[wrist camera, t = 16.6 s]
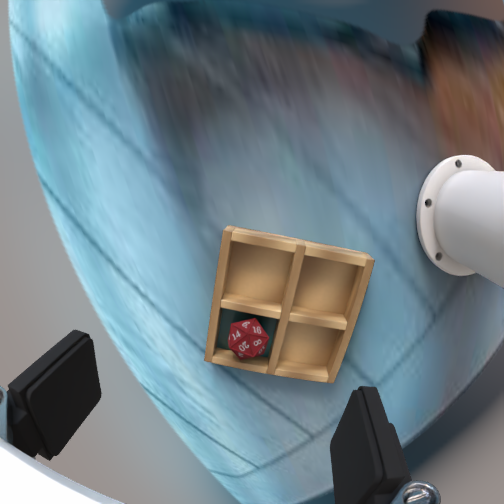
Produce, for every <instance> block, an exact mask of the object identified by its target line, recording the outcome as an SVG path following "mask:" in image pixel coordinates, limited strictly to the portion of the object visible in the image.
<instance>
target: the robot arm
mask: <svg viewBox="0 0 504 504" xmlns="http://www.w3.org/2000/svg"><path fill="white" fill-rule="evenodd" d="M455 163H456V165H455ZM425 201H426V204H425ZM416 220H417V230H418V235H419V240H420V242H421V245H422V247H423V250H424V251H425V253H426V255H427V256H428V258H429V259H430V260H431V261H432V262H433V263H434V264H435V265H436V266H437V267H439V268H440V269H441V270H443V271H445V272H447V273H449V274H452V275H456V276H467V275H471V274H474V273H476V272H477V273H478V274H480V275H482V276H483V277H485V278H487V279H488V280H490V281H492V282H493V283H495V284H497V285H498V286H500V287H502V288H503V289H504V172H499V171H495V170H494V169H493V168H492V167H491V166H490V165H489V164H488V163H487V162H485V161H483V160H482V159H480V158H477V157H474V156H471V155H458V156H453V157H450V158H447V159H445V160H444V161H442V162H441V163H439V164H438V165H437V166H436V167H435V168H434V169H433V170H432V171H431V172H430V174H429V175H428V177H427V178H426V180H425V182H424V184H423V186H422V189H421V191H420V195H419V199H418V203H417V213H416ZM436 254H437V255H436ZM8 387H9V390H8V391H7V392H6V391H5V389H4V388H2V387H1V386H0V504H125V503H122V502H120V501H117V500H115V499H112V498H110V497H107V496H105V495H103V494H101V493H98V492H96V491H94V490H91V489H89V488H87V487H85V486H83V485H81V484H79V483H77V482H75V481H73V480H71V479H69V478H67V477H65V476H63V475H61V474H59V473H57V472H56V471H54V470H52V469H50V468H48V467H47V466H45V465H43V464H42V463H39V462H38V461H36V460H35V456H36V455H37V453H38V454H39V455H41V456H42V457H44V458H46V459H47V460H49V461H50V460H51V459H52V457H53V456H57V455H58V454H59V453H60V452H61V451H62V449H63V448H64V447H65V445H66V444H67V443H68V441H69V440H70V439H71V437H72V436H73V435H74V433H75V432H76V430H77V429H78V428H79V427H80V425H81V424H82V422H83V421H84V420H85V419H86V418H87V416H88V415H89V414H90V412H91V411H92V410H93V408H94V407H95V406H96V404H97V403H98V402H99V400H100V398H101V388H100V383H99V377H98V371H97V365H96V358H95V352H94V345H93V340H92V339H90V336H89V334H87V333H84V332H81V331H78V330H73V331H72V332H70V333H69V334H68V335H67V336H66V337H64V338H63V339H62V340H61V341H60V342H58V343H57V344H56V345H55V346H53V347H52V348H51V349H50V350H49V351H47V352H46V353H45V354H44V355H43V356H41V357H40V358H39V359H38V360H37V361H35V362H34V363H33V364H32V365H31V366H30V367H28V368H27V369H26V370H25V371H24V372H23V373H21V374H20V375H19V376H18V377H17V378H16V379H14V380H13V381H12V382H11V383H10V384H9V385H8ZM330 453H331V463H332V473H333V484H334V496H335V504H440V502H441V497H440V494H439V491H438V490H437V489H436V487H435V486H433V485H432V484H430V483H429V482H425V481H418V480H416V481H412V480H411V476H410V473H409V470H408V467H407V463H406V460H405V457H404V454H403V451H402V448H401V445H400V442H399V439H398V436H397V433H396V430H395V427H394V425H393V424H392V423H389V422H388V419H387V416H386V413H385V410H384V407H383V404H382V401H381V399H380V396H379V393H378V390H377V388H376V387H366V386H360V387H359V388H358V390H353V392H352V394H351V396H350V399H349V401H348V404H347V406H346V408H345V411H344V413H343V415H342V418H341V420H340V422H339V424H338V427H337V429H336V431H335V433H334V435H333V438H332V440H331V444H330Z"/></svg>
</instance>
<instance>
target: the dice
mask: <svg viewBox="0 0 504 504" xmlns="http://www.w3.org/2000/svg"><path fill="white" fill-rule="evenodd" d="M268 340H269V337H268V335H267V334H266V332H265V330H264V329H263V328H262V326H261V325H260V324H259V322H258V321H257V319H256V318H252V319H248V320H244V321H240V322H236V323H231V327H230V331H229V336H228V344H229V348H230V349H231V350H232V351H233V352H234V354H235V355H236V356H237V357H238V358H239V359H240V360H242V359H247V358H251V357H256V356H259V355H262V354H264V352H265V349H266V346H267V343H268Z"/></svg>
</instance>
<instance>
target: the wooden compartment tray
mask: <svg viewBox="0 0 504 504" xmlns="http://www.w3.org/2000/svg"><path fill="white" fill-rule="evenodd" d="M374 262H375V260H374V259H373V258H372V257H371V256H370V255H369V254H368V253H364V252H360V251H355V250H350V249H345V248H340V247H336V246H331V245H326V244H321V243H316V242H311V241H306V240H301V239H296V238H291V237H286V236H281V235H276V234H271V233H266V232H261V231H256V230H251V229H245V228H240V227H235V226H230V225H228V226H227V227H226V228H225V229H224V230H223V235H222V241H221V248H220V254H219V260H218V267H217V273H216V280H215V287H214V294H213V300H212V307H211V314H210V321H209V329H208V336H207V343H206V351H205V359H204V361H207V362H212V363H215V364H220V365H225V366H229V367H234V368H239V369H244V370H249V371H254V372H260V373H265V374H266V373H267V374H272V375H277V376H283V377H290V378H296V379H303V380H310V381H318V382H327V383H334V381H335V378H336V376H337V373H338V371H339V368H340V366H341V363H342V360H343V358H344V355H345V352H346V350H347V347H348V344H349V341H350V338H351V336H352V333H353V330H354V327H355V324H356V321H357V318H358V315H359V312H360V309H361V306H362V302H363V299H364V296H365V293H366V289H367V286H368V283H369V279H370V276H371V272H372V269H373V265H374ZM252 318H256V319H257V321H258V322H259V324H260V325H261V326H262V328H263V329H264V330H265V332H266V334H267V335H268V337H269V340H268V343H267V346H266V349H265V352H264V354H262V355H259V356H256V357H251V358H247V359H242V360H240V359H239V358H238V357H237V356H236V355H235V354H234V352H233V351H232V350H231V349H230V348H229V344H228V336H229V331H230V327H231V323H236V322H240V321H244V320H248V319H252Z"/></svg>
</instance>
